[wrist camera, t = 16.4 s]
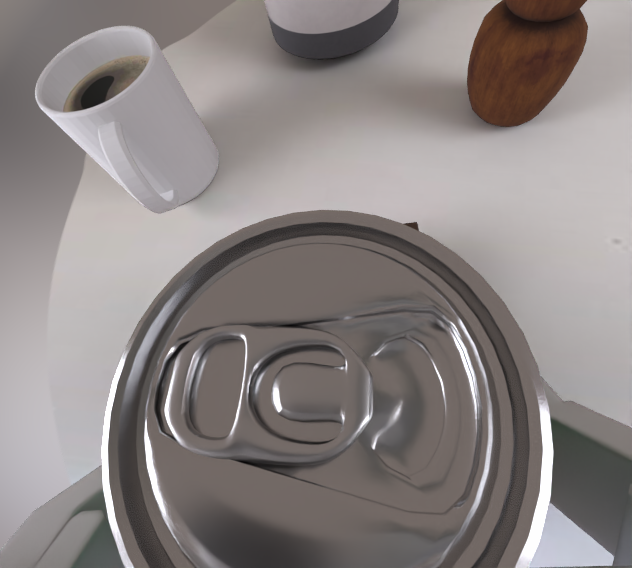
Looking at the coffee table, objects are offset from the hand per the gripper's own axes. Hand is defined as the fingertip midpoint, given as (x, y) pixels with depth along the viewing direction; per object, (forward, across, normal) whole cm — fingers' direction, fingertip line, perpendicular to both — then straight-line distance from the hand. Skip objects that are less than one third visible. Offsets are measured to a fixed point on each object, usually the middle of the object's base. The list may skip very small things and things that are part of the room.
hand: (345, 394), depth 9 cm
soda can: (+4, 0, +5) cm, 7 cm away
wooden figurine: (+26, -14, -6) cm, 30 cm away
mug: (+25, +15, -6) cm, 30 cm away
